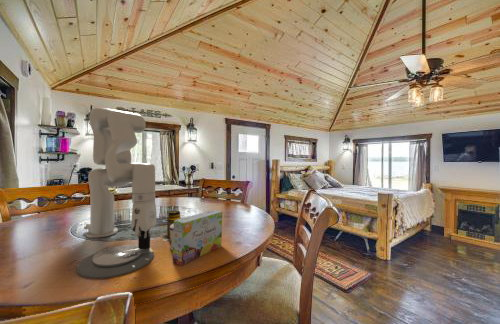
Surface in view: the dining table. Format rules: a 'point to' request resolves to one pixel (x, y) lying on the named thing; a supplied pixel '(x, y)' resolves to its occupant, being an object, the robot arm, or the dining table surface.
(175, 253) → the snack box
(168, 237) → the condiment
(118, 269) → the dial plate
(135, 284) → the dining table surface
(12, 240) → the dining table surface
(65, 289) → the dining table surface
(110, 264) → the dial
